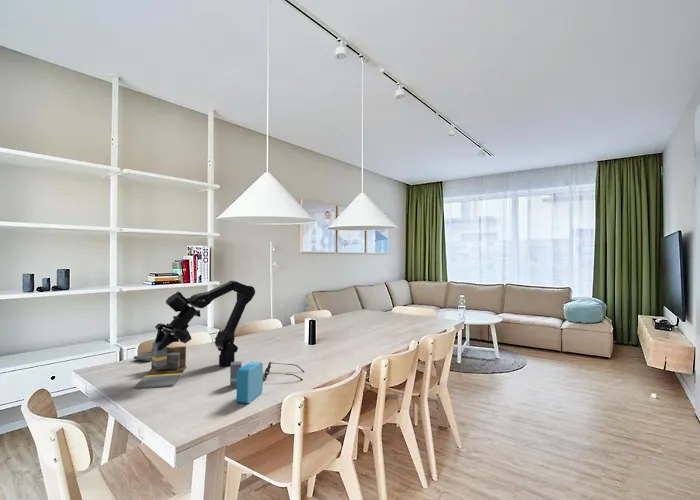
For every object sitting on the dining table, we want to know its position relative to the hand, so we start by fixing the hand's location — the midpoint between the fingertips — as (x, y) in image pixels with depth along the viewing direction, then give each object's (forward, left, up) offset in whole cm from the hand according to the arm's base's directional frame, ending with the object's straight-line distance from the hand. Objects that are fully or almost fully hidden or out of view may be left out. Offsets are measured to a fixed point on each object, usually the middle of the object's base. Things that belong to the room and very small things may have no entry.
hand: (156, 349), depth 150 cm
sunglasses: (-52, +2, -14) cm, 54 cm away
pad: (-1, -1, -13) cm, 14 cm away
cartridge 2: (-32, +10, -13) cm, 36 cm away
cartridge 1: (-1, -1, -7) cm, 7 cm away
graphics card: (+12, -39, -14) cm, 43 cm away
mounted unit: (-1, -15, -13) cm, 20 cm away
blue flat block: (-38, +24, -14) cm, 47 cm away
